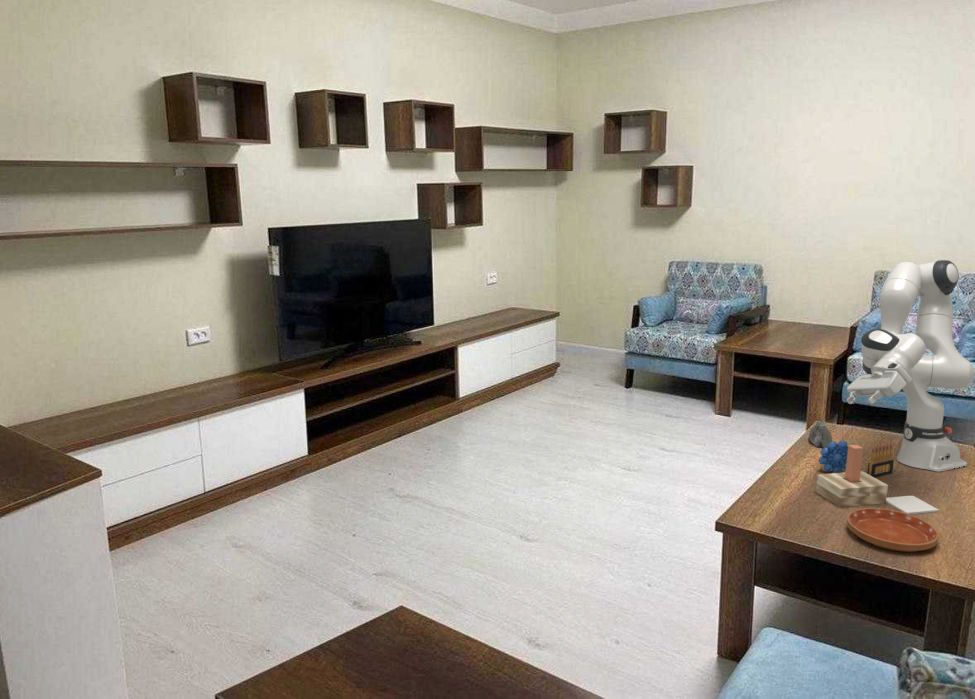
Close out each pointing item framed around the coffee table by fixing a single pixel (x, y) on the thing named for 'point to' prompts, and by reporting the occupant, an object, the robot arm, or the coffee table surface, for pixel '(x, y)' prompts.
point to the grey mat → (910, 505)
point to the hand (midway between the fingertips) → (859, 402)
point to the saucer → (892, 529)
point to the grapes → (834, 456)
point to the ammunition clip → (881, 460)
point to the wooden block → (853, 463)
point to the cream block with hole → (851, 490)
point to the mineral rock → (820, 434)
